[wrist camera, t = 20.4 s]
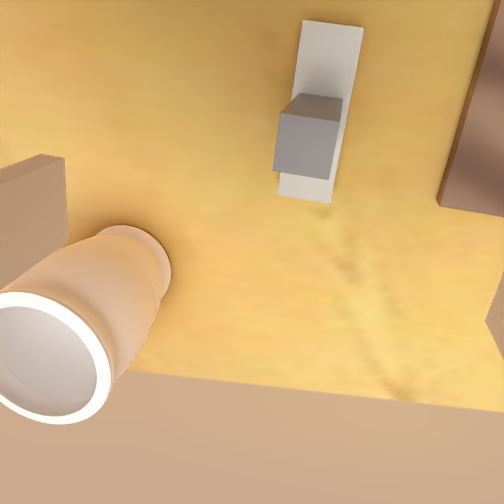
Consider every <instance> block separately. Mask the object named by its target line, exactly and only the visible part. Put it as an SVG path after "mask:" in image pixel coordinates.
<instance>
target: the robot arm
mask: <svg viewBox="0 0 504 504" xmlns="http://www.w3.org/2000/svg"><path fill="white" fill-rule="evenodd" d="M68 241H69V240H68V220H67V201H66V181H65V161H64V158H61V157H55V156H50V155H44V154H40V155H37V156H34V157H32V158H29V159H26V160H24V161H21V162H18V163H16V164H13V165H10V166H8V167H5V168H2V169H0V290H2V289H3V288H4V287H6V286H7V285H9V284H10V283H11V282H13V281H14V280H16V279H17V278H18V277H20V276H21V275H22V274H24V273H25V272H27V271H28V270H29V269H31V268H32V267H33V266H35V265H36V264H38V263H39V262H40V261H42V260H43V259H45V258H46V257H47V256H49V255H50V254H51V253H53V252H54V251H56V250H57V249H58V248H60V247H61V246H62V245H64V244H65V243H67V242H68ZM485 322H486V324H487V326H488V328H489V330H490V332H491V335H492V337H493V339H494V341H495V343H496V345H497V347H498V349H499V351H500V353H501V355H502V358H503V360H504V273H503V275H502V278H501V281H500V283H499V286H498V288H497V291H496V294H495V296H494V299H493V301H492V304H491V307H490V309H489V312H488V314H487V317H486V320H485Z"/></svg>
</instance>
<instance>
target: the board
mask: <svg viewBox="0 0 504 504" xmlns="http://www.w3.org/2000/svg"><path fill="white" fill-rule="evenodd" d="M436 201H437V202H438V204H439V206H441V207H447V208H453V209H459V210H465V211H471V212H477V213H483V214H489V215H495V216H501V217H504V0H495V3H494V7H493V10H492V14H491V17H490V20H489V24H488V27H487V31H486V34H485V37H484V41H483V44H482V47H481V51H480V54H479V58H478V61H477V64H476V68H475V71H474V75H473V78H472V81H471V85H470V88H469V91H468V95H467V98H466V102H465V105H464V108H463V112H462V115H461V118H460V122H459V125H458V129H457V132H456V135H455V139H454V142H453V146H452V149H451V152H450V156H449V159H448V162H447V166H446V169H445V173H444V176H443V179H442V183H441V186H440V190H439V193H438V196H437V200H436Z"/></svg>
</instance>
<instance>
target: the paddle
mask: <svg viewBox="0 0 504 504" xmlns="http://www.w3.org/2000/svg"><path fill="white" fill-rule="evenodd" d="M363 33H364V27H356V26H348V25H340V24H333V23H325V22H317V21H309V20H303V22H302V29H301V36H300V43H299V50H298V56H297V63H296V70H295V77H294V84H293V91H292V98H291V102H290V103H289V104H288V106H287V107H286V108H285V109H284V110H283V111H282V112H281V113H280V120H279V127H278V134H277V142H276V149H275V156H274V163H273V171H276V172H281V173H280V180H279V187H278V194H277V195H282V196H288V197H293V198H299V199H305V200H311V201H317V202H323V203H328V204H330V201H331V196H332V191H333V186H334V181H335V175H336V170H337V165H338V160H339V155H340V150H341V145H342V140H343V135H344V130H345V125H346V120H347V114H348V109H349V104H350V99H351V94H352V89H353V84H354V79H355V74H356V69H357V64H358V58H359V53H360V48H361V43H362V38H363Z"/></svg>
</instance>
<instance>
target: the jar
mask: <svg viewBox="0 0 504 504" xmlns="http://www.w3.org/2000/svg"><path fill="white" fill-rule="evenodd" d="M170 280H171V266H170V262H169V259H168V256H167V254H166V252H165V251H164V249H163V247H162V246H161V245H160V244H159V242H158V241H157V240H156V239H155V238H153V237H152V236H151V235H150V234H148V233H147V232H145V231H143V230H141V229H139V228H136V227H132V226H127V225H115V226H111V227H107V228H105V229H103V230H101V231H100V232H98V233H97V234H96V235H95V236H94V237H90V238H86V239H84V240H81V241H78V242H76V243H74V244H72V245H69V246H67V247H64V248H62V249H60V250H57V251H55V252H53V253H51V254H50V255H49V256H47V257H46V258H45V259H43V260H42V261H40V262H39V263H38V264H36V265H35V266H33V267H32V268H31V269H29V270H28V271H27V272H25V273H24V274H22V275H21V276H20V277H19V278H18V279H17V280H16V281H15V282H14V283H13V284H12V285H11V286H10V287H9V288H8V289H7V290H3V291H1V292H0V401H1V402H2V403H3V404H4V405H6V406H7V407H9V408H10V409H12V410H14V411H15V412H17V413H19V414H21V415H23V416H25V417H28V418H30V419H33V420H36V421H40V422H44V423H51V424H70V423H75V422H79V421H82V420H84V419H87V418H88V417H90V416H92V415H93V414H95V413H96V412H97V411H98V410H99V409H100V408H101V406H102V405H103V404H104V403H105V401H106V400H107V398H108V397H109V395H110V393H111V390H112V387H113V384H114V381H115V380H116V379H117V378H118V377H119V376H120V375H121V374H122V373H123V372H124V371H125V370H126V369H127V368H128V366H129V365H130V364H131V363H132V361H133V360H134V359H135V357H136V356H137V355H138V353H139V352H140V350H141V348H142V347H143V345H144V343H145V341H146V339H147V337H148V335H149V332H150V330H151V327H152V324H153V321H154V319H155V316H156V314H157V312H158V309H159V305H160V301H161V298H162V297H163V296H164V294H165V293H166V291H167V289H168V287H169V284H170Z"/></svg>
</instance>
